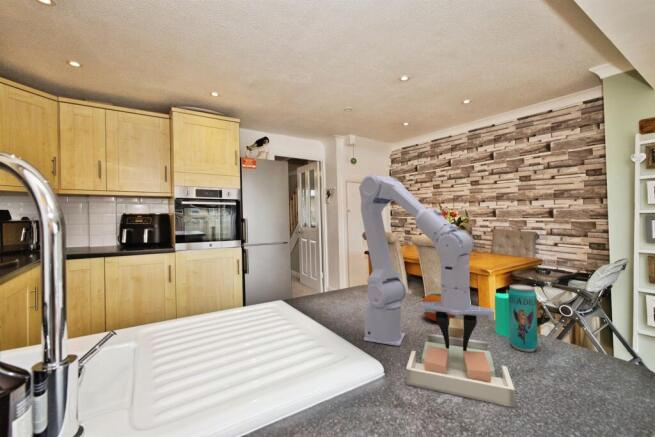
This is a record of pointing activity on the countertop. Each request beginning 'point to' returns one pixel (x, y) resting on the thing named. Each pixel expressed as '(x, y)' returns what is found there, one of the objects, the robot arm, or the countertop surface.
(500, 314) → the candle
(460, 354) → the board
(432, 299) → the fruit
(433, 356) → the tile left
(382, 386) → the countertop surface
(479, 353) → the tile right
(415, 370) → the tray
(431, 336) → the scraper
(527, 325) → the beverage can
